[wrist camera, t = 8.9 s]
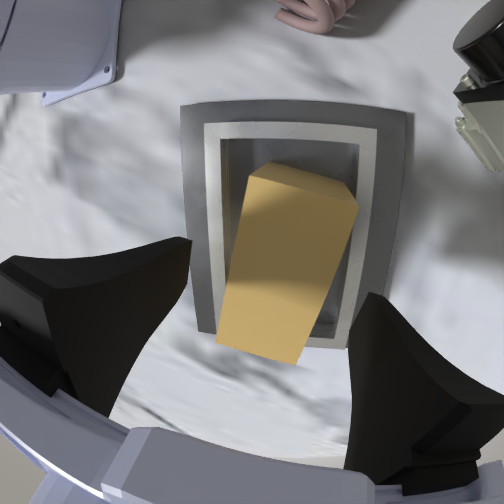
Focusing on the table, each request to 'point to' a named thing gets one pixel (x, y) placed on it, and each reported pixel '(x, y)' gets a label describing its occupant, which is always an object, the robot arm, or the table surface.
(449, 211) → the table surface
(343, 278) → the gray rectangular tray
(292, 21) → the coil
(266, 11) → the table surface
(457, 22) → the table surface
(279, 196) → the beige wooden block
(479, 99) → the pneumatic valve
